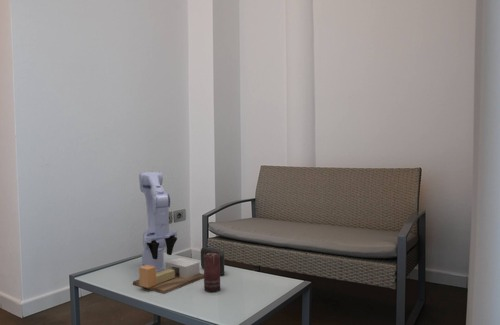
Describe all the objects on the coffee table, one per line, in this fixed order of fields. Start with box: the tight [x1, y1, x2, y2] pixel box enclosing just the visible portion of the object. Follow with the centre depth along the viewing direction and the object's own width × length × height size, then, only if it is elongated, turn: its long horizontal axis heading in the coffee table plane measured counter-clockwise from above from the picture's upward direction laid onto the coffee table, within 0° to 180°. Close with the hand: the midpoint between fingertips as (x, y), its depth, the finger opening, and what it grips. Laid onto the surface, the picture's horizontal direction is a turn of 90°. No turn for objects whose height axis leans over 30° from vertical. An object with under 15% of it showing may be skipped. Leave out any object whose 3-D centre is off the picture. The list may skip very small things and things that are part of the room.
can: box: [203, 252, 221, 293], centre depth 155 cm, size 6×6×14 cm
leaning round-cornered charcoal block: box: [200, 246, 225, 276], centre depth 178 cm, size 16×5×9 cm, turn 40°
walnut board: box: [132, 272, 204, 294], centre depth 165 cm, size 18×23×1 cm
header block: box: [164, 257, 201, 279], centre depth 171 cm, size 12×8×5 cm, turn 54°
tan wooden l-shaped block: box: [138, 265, 175, 288], centre depth 160 cm, size 5×14×7 cm, turn 144°
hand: (162, 256), depth 166 cm, fingers open, 7 cm apart
